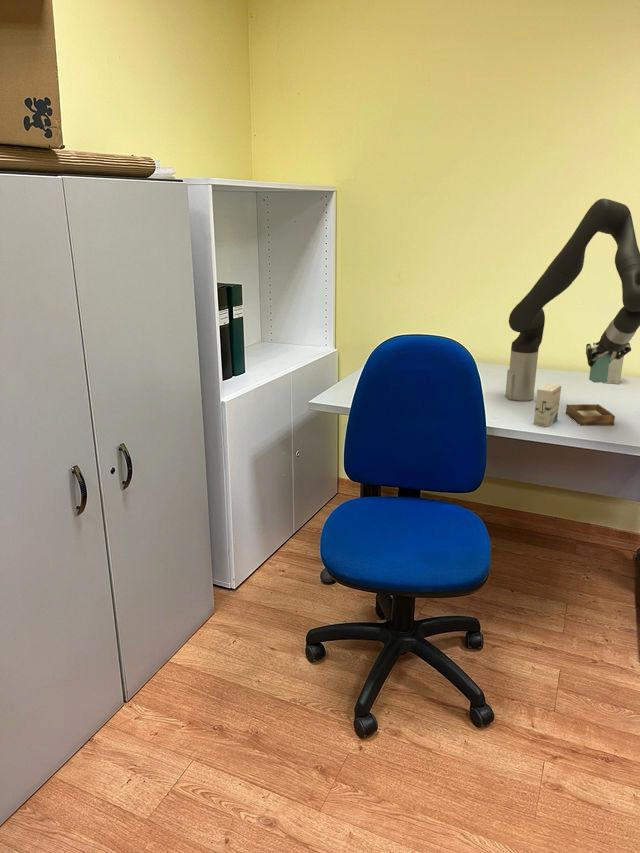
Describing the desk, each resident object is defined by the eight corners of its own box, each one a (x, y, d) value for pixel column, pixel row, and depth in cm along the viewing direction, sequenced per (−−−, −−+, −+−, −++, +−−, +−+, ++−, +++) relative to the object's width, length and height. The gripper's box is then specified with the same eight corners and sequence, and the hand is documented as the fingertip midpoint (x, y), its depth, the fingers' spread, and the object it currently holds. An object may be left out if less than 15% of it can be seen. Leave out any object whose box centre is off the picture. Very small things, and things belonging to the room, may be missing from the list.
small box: (619, 384, 247) (624, 351, 243) (602, 382, 249) (606, 350, 245) (619, 379, 254) (624, 347, 250) (602, 378, 256) (606, 345, 252)
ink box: (542, 417, 209) (546, 382, 205) (558, 420, 206) (562, 385, 203) (532, 424, 203) (536, 388, 199) (548, 427, 200) (552, 390, 196)
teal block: (594, 382, 203) (598, 345, 200) (589, 379, 207) (593, 342, 203) (606, 382, 203) (611, 344, 200) (601, 379, 207) (605, 342, 203)
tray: (579, 425, 201) (581, 416, 200) (565, 413, 213) (566, 404, 212) (613, 425, 201) (615, 416, 200) (597, 412, 213) (598, 404, 212)
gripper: (639, 322, 192) (616, 354, 207) (592, 323, 192) (572, 354, 207) (646, 343, 189) (621, 373, 204) (598, 344, 189) (577, 374, 204)
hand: (596, 364), depth 206 cm, fingers closed on teal block, 4 cm apart
